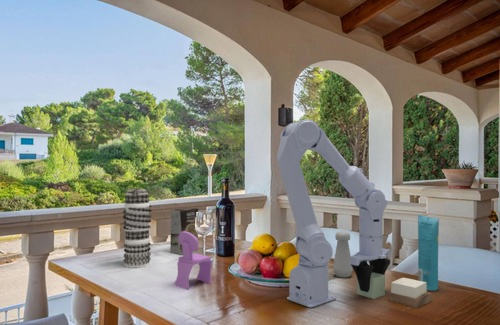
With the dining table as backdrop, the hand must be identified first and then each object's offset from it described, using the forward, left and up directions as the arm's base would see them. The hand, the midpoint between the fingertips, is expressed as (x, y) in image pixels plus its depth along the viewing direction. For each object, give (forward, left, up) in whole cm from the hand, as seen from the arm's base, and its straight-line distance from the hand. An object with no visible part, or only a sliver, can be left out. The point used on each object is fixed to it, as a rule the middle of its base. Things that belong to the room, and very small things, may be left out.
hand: (370, 288), depth 105 cm
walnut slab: (+3, -9, -2) cm, 10 cm away
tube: (+16, -7, -2) cm, 18 cm away
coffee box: (-11, +74, -2) cm, 75 cm away
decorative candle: (-33, +67, -2) cm, 75 cm away
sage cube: (0, 0, -1) cm, 1 cm away
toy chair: (-30, +37, -2) cm, 48 cm away
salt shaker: (+8, +15, -2) cm, 17 cm away
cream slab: (+3, -9, +1) cm, 9 cm away
